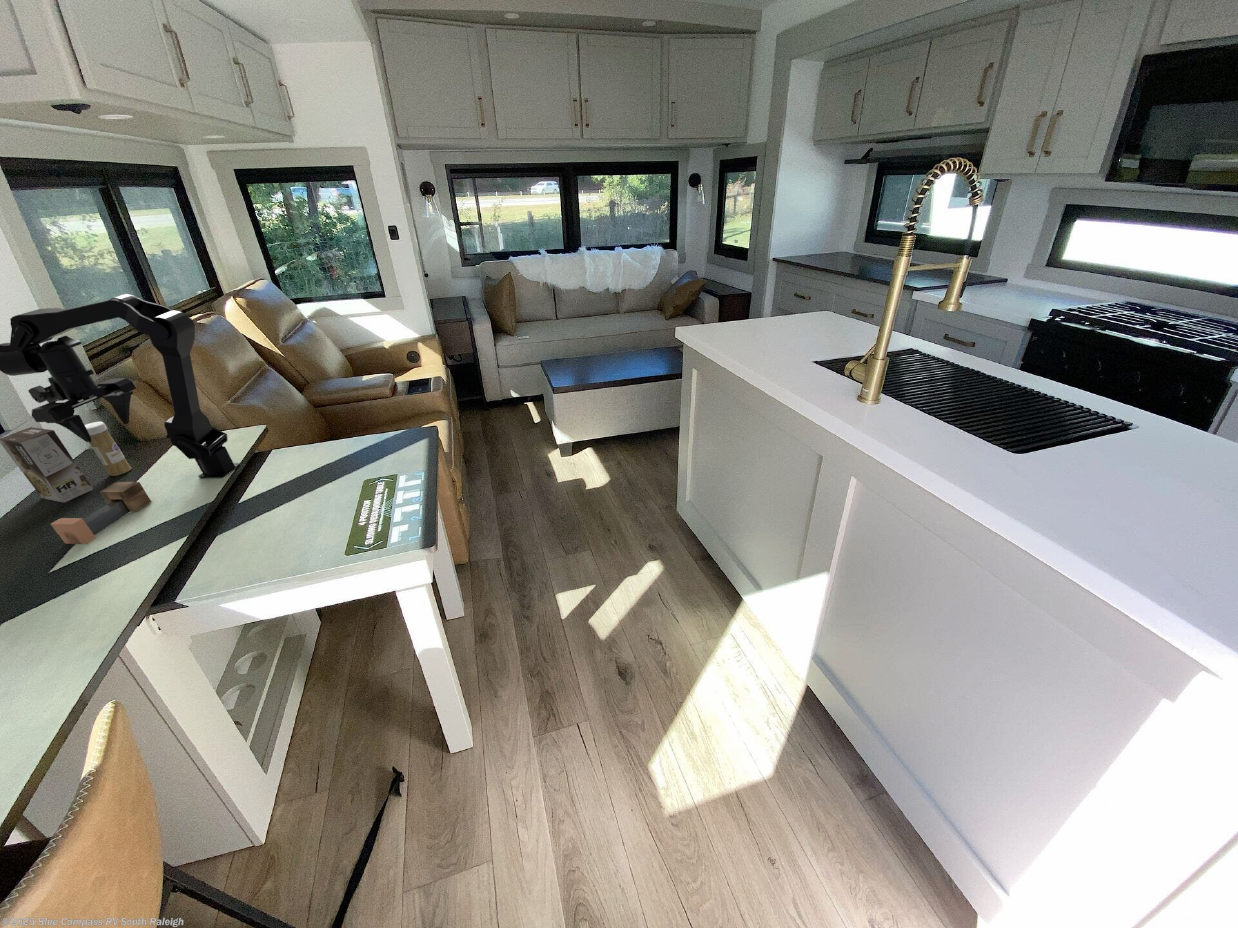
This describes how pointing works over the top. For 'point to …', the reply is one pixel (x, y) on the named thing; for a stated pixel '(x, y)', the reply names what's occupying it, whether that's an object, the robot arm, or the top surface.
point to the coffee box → (46, 464)
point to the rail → (105, 516)
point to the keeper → (127, 494)
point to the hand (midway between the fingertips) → (108, 432)
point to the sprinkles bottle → (107, 449)
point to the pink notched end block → (73, 530)
